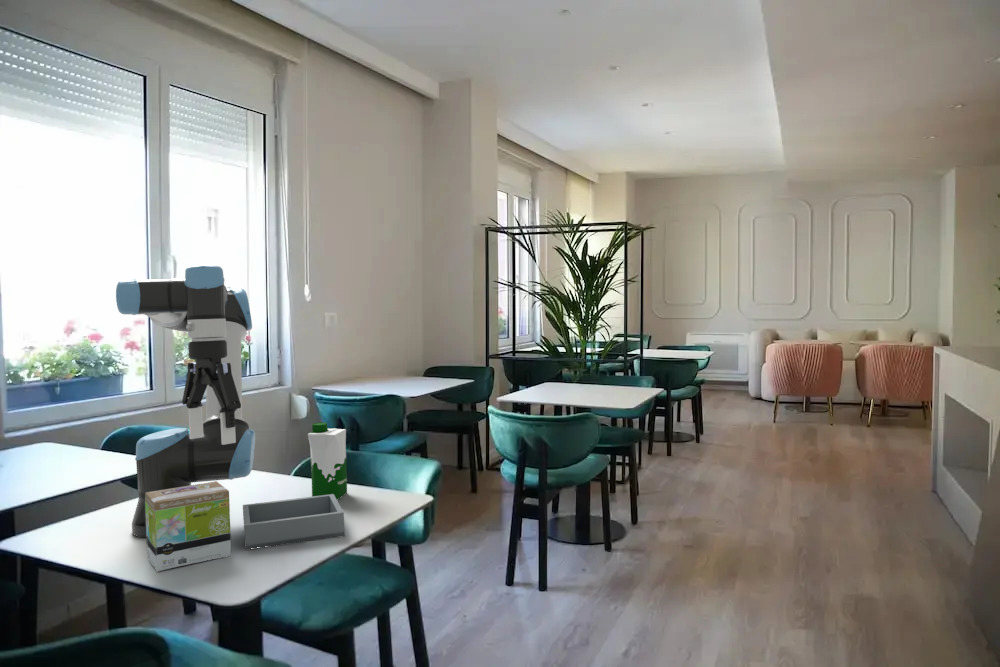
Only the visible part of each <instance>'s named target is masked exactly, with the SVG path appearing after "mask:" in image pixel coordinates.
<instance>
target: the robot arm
mask: <svg viewBox="0 0 1000 667" xmlns="http://www.w3.org/2000/svg"><path fill="white" fill-rule="evenodd" d="M184 277H185V278H169V279H168V278H167V279H162V278H161V279H158V278H157V279H153V278H152V279H137V278H133V279H125V280H119V282H117V285H116V288H115V289H116V290H115V300H116V301H115V302H116V307H117V309H118V312H119V313H120V314H122V315H132V316H136V315H144V316H147V317H149V319H150V320H151V321H152V322H153V323H154V324H155V325H157V326H159V327H162V328H165V329H169V330H174V331H178V332H184V333H185V332H186V333H187V338H188V339H190V340H191V341H189V342H188V343H187V345H188V346H187V347H188V358H189V359H190V360H195V361H192V362H187V374H186V380H185V384H184V391H183V396H182V400H181V401H182V405H184V406H185V405H186V408H187V409H188V425H189V427H188V428H187V427H177V428H170V429H165V430H160V431H156V432H153V433H150V434H147V435H145V436H143V437H141V438H139V439H138V440H137V442H136V445H135V457H134V460H135V463H136V475H137V477H136V479H137V491H138V492H137V493H138V497H137V498H138V500H137V503H136V507H135V510H134V515H133V518H132V522H131V532H132V535H134V534H135V535H137V536H136V537H138V536H141V537H140V538H146V512H145V493H146V492H152V491H158V490H165V489H171V488H177V487H184V486H190V485H192V483H201V482H215V481H225V480H231V481H232V480H235V479H239V478H245V477H247V476H249V475H250V474H251V472H252V469H253V466H254V459H255V458H254V457H255V446H256V444H255V443H256V432H255V430H254V429H251V428H250V425H249V423H248V421H247V420H246V419H244V418H243V387H242V386H243V385H242V384H243V383H242V382H243V381H242V380H243V378H242V341H243V340H244V339H245V338H246V337H247V334H248V332H247V331H251V330H252V329H253V322H252V320H253V319H252V314H251V309H250V303H249V298H248V293H247V291H246V290H245V289H243V288H239V287H229V286H228V287H226V286H225V278H224V269H223V268H222V267H221V266H219V265H190V266H188V267H186V269H185V271H184ZM205 394H206V395H205ZM204 396H206V397H205V401H206V402H205V405H206V406H205V407H206V408H205V409H206V410H205V421H204V417H203V403H202V401H203V398H204ZM188 429H189V430H188ZM135 535H134V536H135Z"/></svg>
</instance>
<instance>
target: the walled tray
mask: <svg viewBox="0 0 1000 667" xmlns="http://www.w3.org/2000/svg"><path fill="white" fill-rule="evenodd" d="M242 516H243V517H242V518H243V520H242V521H243V533H244V546H245V545H246V546H245V550H246V549H250V550H252V549H251V548H257V547H264V548H266V547H265V546H271V547H278V546H283V545H292V544H299V543H306V542H307V543H308V542H313V541H318V540H319V541H320V540H327V539H333V538H340V537H341V536H342V537H345V513H344V510H343V508H342V507H341V505H340V503H339V501H338V500H337V499H336V498H335V496H334V494H329V495H321V496H313V497H312V496H305V497H299V498H290V499H281V500H273V501H265V502H256V503H255V502H254V503H248V504H247V503H246V504H242ZM276 545H277V546H276ZM257 549H258V548H257Z"/></svg>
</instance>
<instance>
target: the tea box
mask: <svg viewBox="0 0 1000 667" xmlns="http://www.w3.org/2000/svg"><path fill="white" fill-rule="evenodd" d="M230 505H231V504H230V491H229V490H228V489H227V488H226V487H224V486H223V485H222V484H221V483H219V482H218V480H215V481H208V482H205V483H198V484H191V485H190V486H184V487H177V488H171V489H165V490H158V491H152V492H146V493H145V512H146V537H145V538H146V558H147V560H148V561H149V563H150V564H151V563H152V564H151V565H152V567H153V566H154V567H155V568H154V567H153V568H154V569H156V570H157V571H156V573H158V571H159V572H162V571H165V570H169V569H175V568H178V567H183V566H188V565H191V564H198V563H202V562H208V561H211V560H212V559H213V560H217V558H218V559H222V557H224V558H227V557H226V556H229V557H230V556H231V555H232V554H231V553H232V536H231V516H230V515H231V514H230V512H231V510H230ZM207 560H208V561H207Z"/></svg>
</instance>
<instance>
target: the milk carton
mask: <svg viewBox="0 0 1000 667" xmlns="http://www.w3.org/2000/svg"><path fill="white" fill-rule="evenodd" d="M311 427H312V430H311V432H309V433H307V438H308V442H309V448H310V449H309V450H310V469H311V470H310V471H311V472H310V473H311V474H310V475H311V497H313V496H321V495H329V494H334V496H335V498H336V499H338V498H339V499H340V497H341V496H342V497H343V496H345V495H346V494H348V475H347V472H348V470H347V469H348V468H347V449H346V448H347V445H346V442H347V440H346V439H347V429H346V428H343V429H342V428H336V427H335V428H328V423H327V422H323V421H322V422H315V423H312V424H311ZM345 493H346V494H345ZM344 494H345V495H344ZM342 497H341V498H342ZM339 499H338V500H339Z"/></svg>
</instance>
